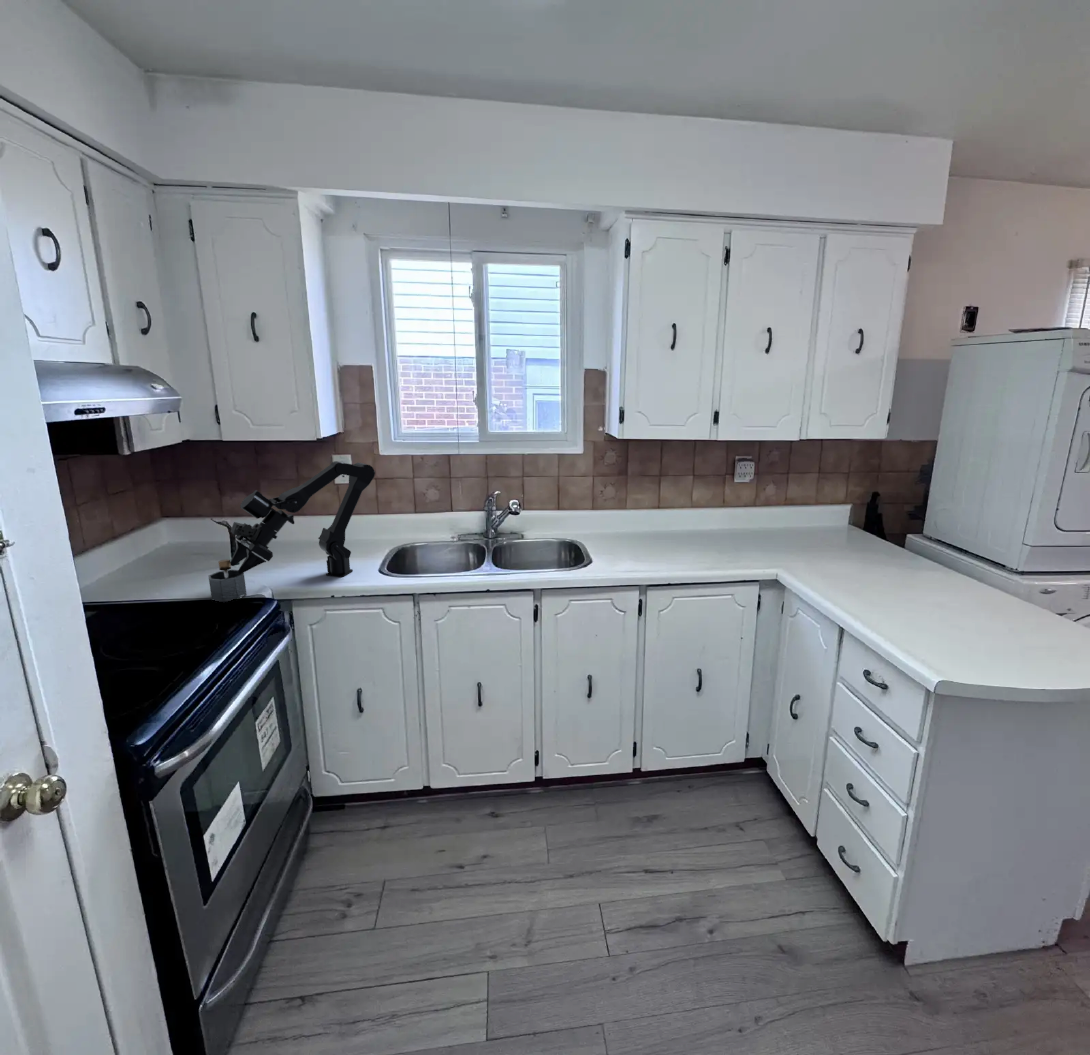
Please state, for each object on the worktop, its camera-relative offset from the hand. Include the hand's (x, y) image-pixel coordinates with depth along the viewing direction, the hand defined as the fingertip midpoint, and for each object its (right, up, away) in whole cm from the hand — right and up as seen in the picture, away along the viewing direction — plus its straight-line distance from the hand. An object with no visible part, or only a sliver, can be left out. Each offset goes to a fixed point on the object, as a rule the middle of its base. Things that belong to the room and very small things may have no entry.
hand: (235, 569), depth 166 cm
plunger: (-2, -7, 0) cm, 8 cm away
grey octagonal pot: (-2, -8, 0) cm, 9 cm away
